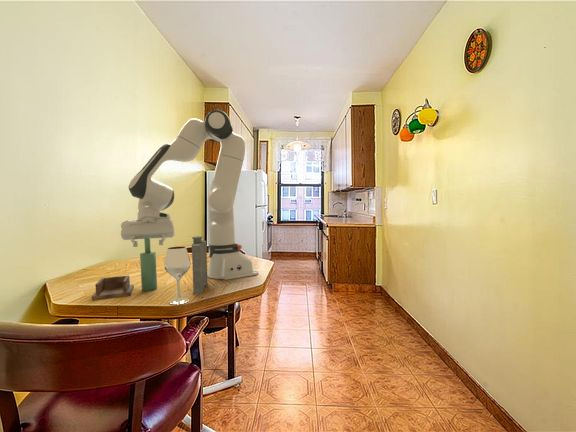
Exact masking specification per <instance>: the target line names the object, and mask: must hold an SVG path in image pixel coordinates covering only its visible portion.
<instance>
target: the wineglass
mask: <svg viewBox="0 0 576 432" xmlns="http://www.w3.org/2000/svg"><path fill="white" fill-rule="evenodd" d="M189 255H190V254H189V251H188V249H187V246H172V247H167V249H166V253H165V259H164V263H163V267H164V270H165V271H166V272H167V273H168V274H169V275H170V276H172V278H174V279H175V281H176V286H177V298H175V299H174V298H173V299H171V300H169V301H168V304H169V305H173V306H177V305H178V306H179V305H184V304H187V303H189V302H190V299H189V298H186V297H181V285H180V283H181V282H180V281H181V278H182V277H184V275H185V274H187V273H188V271H190V268H191V266H192V265H191V259H190V256H189Z"/></svg>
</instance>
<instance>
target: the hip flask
mask: <svg viewBox="0 0 576 432" xmlns="http://www.w3.org/2000/svg"><path fill="white" fill-rule="evenodd" d="M191 239H192V242H193V243H191V261H192V265H191V266H192V288H193V295H196V294H197V295H202V294H203V290H204V288H205V287H206V286H207V285H208V284H209V281H208V280H209V277H208V275H207V274H208V251H207V240H202V239H203V236H192V238H191ZM205 285H206V286H205ZM204 286H205V287H204ZM201 293H202V294H201Z"/></svg>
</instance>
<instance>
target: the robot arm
mask: <svg viewBox="0 0 576 432" xmlns="http://www.w3.org/2000/svg"><path fill="white" fill-rule="evenodd" d="M206 141H209V142H214V143H218V144H220V150H219V153H218V157H217V162H216V166H215V169H214V174H213V177H212V181H211V185H210V188H209V193H208V196H207V205H208V230H209V231H208V232H209V237H208V238H209V244H208V257H209V264H208V265H209V266H208V269H207V275H208V279H215V280H216V279H218V280H226V281H227V280H233V279H239V278H245V277H250V276H251V277H252V276H257V275H258V274H259V271H258V270H257V269H256V268H255V267H254V266H253V262H252V260H251V259H250V258H249V257H248V256H246V255H245V254H244V253H243V252H241V251H240V250H242V244H237V243H236V240H235V238H236V237H235V236H236V235H235V219H234V217H235V216H234V205H235V204H234V203H235V200H236V195H237V191H238V186H239V181H240V177H241V173H242V168H243V165H244V160H245V155H246V140H245V139H244V137H242V136H241V135H240V134H236V133H234V130H233V125H232V121H231V119H230V117H229V115H228V114H227V113H226V112H225V111H222V110H220V109H213V110H211V111H209V112H208V113H207V114H206V116H205V119H204V121H203V120H201V119H199V118H190V119H188V121H187V122H186V123H185V124H184V125H183V126H182V128H181V129H180V131H179V132H178V134H177V136H176V137H175V139H174V140H173V141H171V142H170V143H165V144H162V145H161V146H160V147H158V150H157V151H156V152H155V153H154V154H153V156H151V157H150V159H149V160H148V161H147V163H145V165H144V166H143V167H142V168H141V169H140V170H139V172H138V173H137V174H136V175H134V176H133V178H132V179H131V180H130V182H129V185H128V191H129V192H130V194H131V196H132V197H133V198H137V199H139V200H138V205H137V210H138V212H137V219H134V220H129V219H128V220H125V221H123V222H121V224H120V228H121V230H120V237H121V239H122V241H123V240H124V241H129V240H130V243H132V247H133V248H138V247H139V246H138V244H139V243H138V240H144V238H145V237H150V240H151V239H159V240H158V246H164V242H165V240H166V239H168V238H174V236H175V227H174V222H173V221H172V220H171V219H172V218H171V214H169V213H165V212H163V211H165V210H166V209H168V208H169V207H171V205H173V203H174V201H175V191H174V189H173V188H172V187H170V186H168V185H166V184H164V183H162V182H160V181H158V180H156V179H154V178H152V177H153V175H154V174H155V173H156V172H157V171H158V169H159V168H160V166H161V165H162V164H163V163H165V162H167V161H175V162H182V163H184V162H185V163H186V162H191V161H194V160H195V159H196V158H197V156H198V155H199V153H200V152H201V149H202V147H203V146H204V144H205V142H206Z"/></svg>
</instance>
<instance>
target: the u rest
mask: <svg viewBox="0 0 576 432" xmlns="http://www.w3.org/2000/svg"><path fill="white" fill-rule="evenodd" d="M130 281H131V280H130V275H129V274H128V275H120V276H109V277H100V278H99V280H98V281H97V282H96V284H95V292H94V293H93V295H91V300H92V301H95V300H102V299H111V298H112V297H113V298H121V297H128V296H131V295H132V294H133V293H132V292H133V291H134V287H135V285H134V284H130V283H131V282H130ZM132 290H133V291H132Z"/></svg>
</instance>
